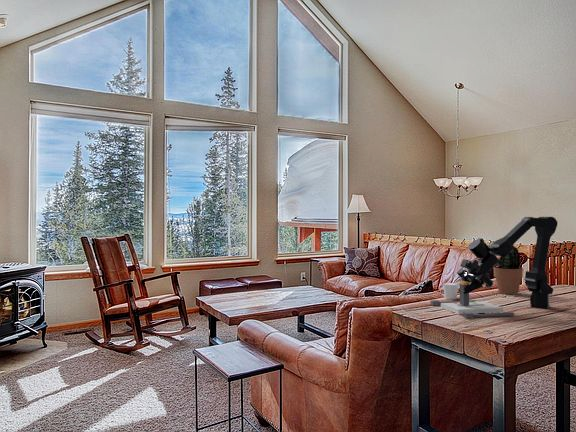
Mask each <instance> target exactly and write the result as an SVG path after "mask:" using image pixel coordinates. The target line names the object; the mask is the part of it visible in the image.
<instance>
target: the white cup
mask: <svg viewBox="0 0 576 432" xmlns="http://www.w3.org/2000/svg"><path fill="white" fill-rule="evenodd" d="M442 287H443V296H444V299H447V300H457V297H458V290H459V288H458V287H459V284H458V283H454V282H445V283H444V282H443V283H442Z"/></svg>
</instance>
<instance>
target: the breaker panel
mask: <svg viewBox="0 0 576 432" xmlns="http://www.w3.org/2000/svg"><path fill="white" fill-rule="evenodd" d="M441 307H442V308H441ZM440 308H441V309H443V308H444V309H443V310H445V309H447V310H446V311H448V310H449V311H448V312H450V311H452V312H451V313H453V312H455V313H458V314H463V312H471V313H473V314H475V313H485V314H486V313H490V312H503V313H504V307H503V306H498V305H496V304H492V303H489V302H486V301H484V300H483V301H476V302H469V305H465V306H464V305H461V304H460V302H457V303H455V302H452V303H441V305H440ZM455 313H454V314H455ZM458 314H457V315H458Z"/></svg>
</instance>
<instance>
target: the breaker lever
mask: <svg viewBox="0 0 576 432" xmlns="http://www.w3.org/2000/svg"><path fill="white" fill-rule="evenodd" d="M468 284H469V282H465V281H462V280H461V281H459V288H460V292H459V301H460V304H461V305H464V306H465V305H469V300H470V292H469V293H466V294H464V293H463V291H464V289H465V288H466V286H467V285H468Z"/></svg>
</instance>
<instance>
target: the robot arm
mask: <svg viewBox="0 0 576 432" xmlns="http://www.w3.org/2000/svg"><path fill="white" fill-rule="evenodd" d="M532 227H534V231H535V233H536V242H535V249H534V254H533V255H534V256H533V260H532V261H533V262H532V267H531V269H529V271H528V270H526V271H525V275H524V278H523V280H524V283H525V286H526V287H527V290H528V292H531V295H530V297H529V299H530V300H529V301H530V302H529V305H530V307H532V308H537V309H539V308H540V309H545V310H546V309H549V308H550V307H551V305H550V295H553V292H554V288H553V287H552V286H551V285H550V284H549V283H548V281H549V280H548V275H547V272H546V266H547V260H548V254H549V247H550V243H551V238H552V236H554V234H555V233H556V230H557V228H558V220H557V218H555V217H554V216H538V217H533V216H525V217H523V218H521V220H520V221H519V222H518V223H517V224H516V225H515V226H514V227H513V228H512V229H511V230H510V231H509V232H508V233H506V235H504V236H503V237H502V238H501V237H500V238H498V239H496V240H494V242H492V243H491V244H490V245H488V244H487V243H486V242H485V241H484V239H483V238H477V239H476V240H474V241H472V242H470V243H469V245H468V246H467V249H468V250H469V251H470V252H471V253H472V254H473V255H474V257H476V258H477V259H479V261H478V260H476V259H472V260H471V259H465V258H464V259H463V258H462V261H461V263H460V266H459V267H462V268H465V269H461V268H460V269H458V270H457V271H456V274H457V275H458V276H459V277H460V279H461V281H465V282H469V284H468V285H467V286H466V288H465V289H464V291H463V293H464V294H466V293H469V294H470V293H471V292H474V291H476V290H478V289H482V288H484V286H485V288H488V289H491V288H492V287H493V285H494V280H492V279H491V278H490V277H489V276H488V275H491V273H492V269H493V267H496V266H499V265H502V261H501V260H502V259H500V258H498V257H501V256H503V257H505V256H507V255H508V254H509V253H510V251H511V250H512V248H513V246H514V245H515V244H516V242H518V241H519V240H520V238H521V237H522V236H524V235H525V234H526V233H527V232H528V231H529V230H530V229H532ZM466 269H467V270H466ZM484 284H485V285H484ZM457 292H458V293H460V287H459V288H458V289H457Z"/></svg>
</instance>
